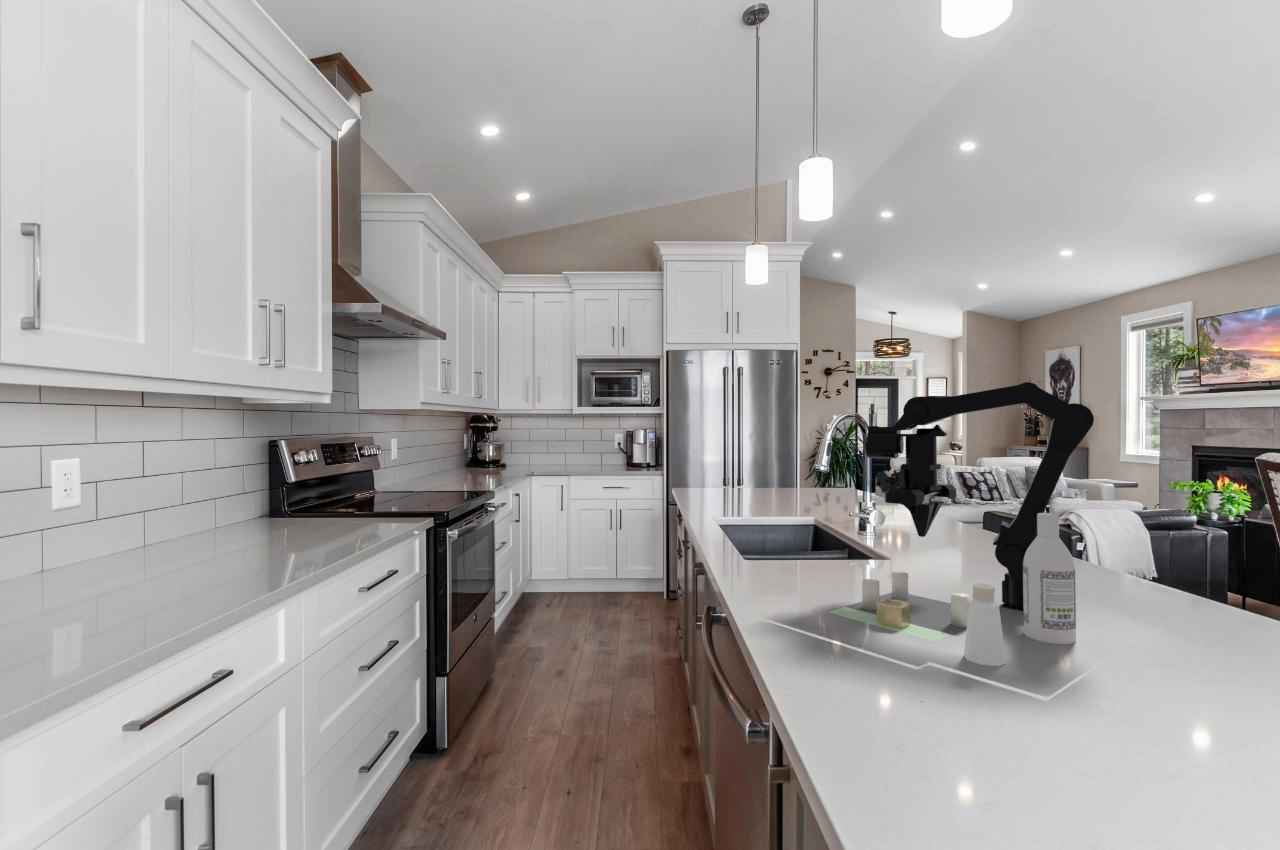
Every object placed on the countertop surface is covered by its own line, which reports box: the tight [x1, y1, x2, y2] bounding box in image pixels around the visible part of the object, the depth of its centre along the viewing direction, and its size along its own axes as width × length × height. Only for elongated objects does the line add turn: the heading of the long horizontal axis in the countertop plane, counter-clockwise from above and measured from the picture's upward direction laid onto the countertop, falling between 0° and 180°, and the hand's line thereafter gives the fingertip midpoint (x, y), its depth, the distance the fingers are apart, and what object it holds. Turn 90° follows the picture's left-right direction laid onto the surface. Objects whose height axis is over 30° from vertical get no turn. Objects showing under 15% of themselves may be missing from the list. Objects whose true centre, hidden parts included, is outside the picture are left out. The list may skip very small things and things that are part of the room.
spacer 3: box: [950, 592, 972, 628], centre depth 104 cm, size 3×3×5 cm
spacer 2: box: [891, 570, 909, 601], centre depth 120 cm, size 3×3×5 cm
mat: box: [827, 592, 967, 643], centre depth 111 cm, size 20×23×1 cm
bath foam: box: [1023, 512, 1077, 645], centre depth 98 cm, size 7×7×20 cm
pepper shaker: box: [963, 583, 1007, 667], centre depth 89 cm, size 5×5×11 cm
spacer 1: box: [861, 578, 881, 610], centre depth 114 cm, size 3×3×5 cm
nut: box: [876, 599, 910, 629], centre depth 105 cm, size 5×5×4 cm
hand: (922, 536), depth 124 cm, fingers closed
